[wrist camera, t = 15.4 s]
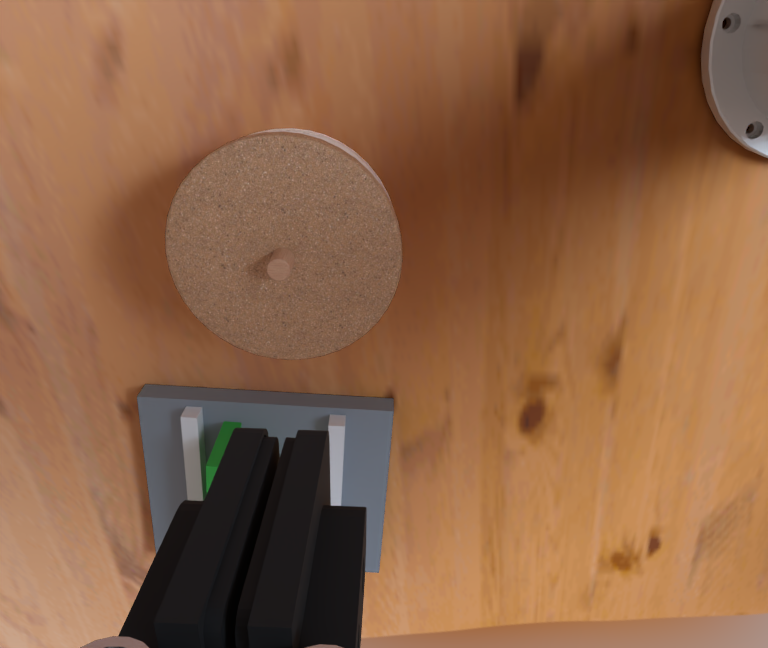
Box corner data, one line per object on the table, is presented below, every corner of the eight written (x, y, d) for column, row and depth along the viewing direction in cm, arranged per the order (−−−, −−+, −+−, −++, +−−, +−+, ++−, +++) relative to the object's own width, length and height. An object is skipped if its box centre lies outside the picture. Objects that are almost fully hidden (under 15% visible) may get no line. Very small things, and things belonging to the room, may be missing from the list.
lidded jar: (199, 107, 32) (134, 135, 24) (403, 116, 32) (411, 146, 24) (215, 295, 37) (165, 375, 28) (393, 302, 37) (397, 382, 28)
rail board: (393, 398, 40) (394, 422, 37) (379, 556, 46) (378, 586, 43) (145, 384, 39) (129, 407, 37) (163, 546, 45) (151, 575, 43)
